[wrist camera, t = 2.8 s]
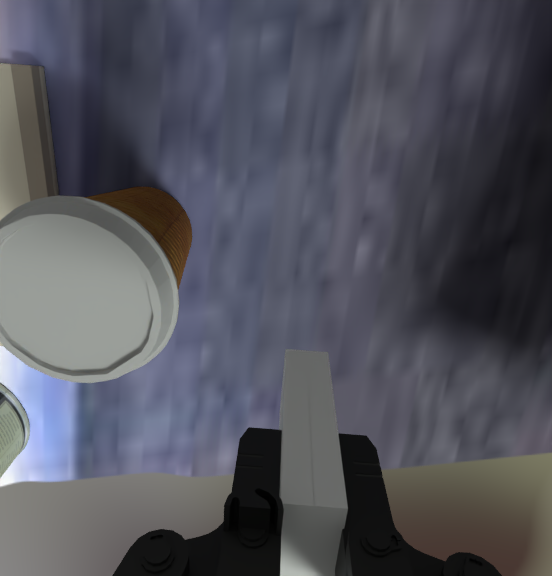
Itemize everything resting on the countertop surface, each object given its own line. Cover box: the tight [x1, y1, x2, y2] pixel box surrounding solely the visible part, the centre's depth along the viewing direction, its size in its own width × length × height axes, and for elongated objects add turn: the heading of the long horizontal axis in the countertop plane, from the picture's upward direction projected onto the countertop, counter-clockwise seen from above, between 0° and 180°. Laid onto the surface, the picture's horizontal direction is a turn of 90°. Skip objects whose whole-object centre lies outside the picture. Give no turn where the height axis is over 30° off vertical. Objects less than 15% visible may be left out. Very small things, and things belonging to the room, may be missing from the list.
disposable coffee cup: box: [0, 187, 192, 383], centre depth 26 cm, size 10×10×12 cm
